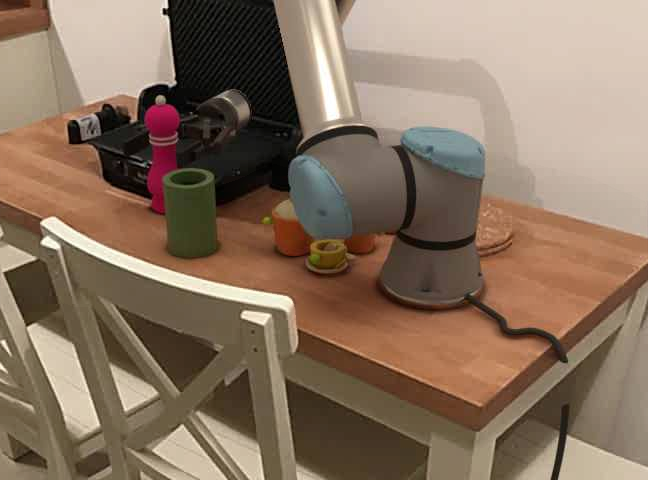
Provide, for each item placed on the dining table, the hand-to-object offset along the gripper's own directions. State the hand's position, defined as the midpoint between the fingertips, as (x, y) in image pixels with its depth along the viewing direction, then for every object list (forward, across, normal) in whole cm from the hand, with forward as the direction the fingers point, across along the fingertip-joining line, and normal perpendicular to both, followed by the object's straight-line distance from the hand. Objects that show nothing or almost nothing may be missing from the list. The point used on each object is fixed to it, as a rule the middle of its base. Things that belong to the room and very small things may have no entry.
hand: (150, 155), depth 156 cm
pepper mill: (-4, 0, -11) cm, 12 cm away
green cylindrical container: (+7, -13, -11) cm, 19 cm away
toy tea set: (-6, -34, -11) cm, 36 cm away
